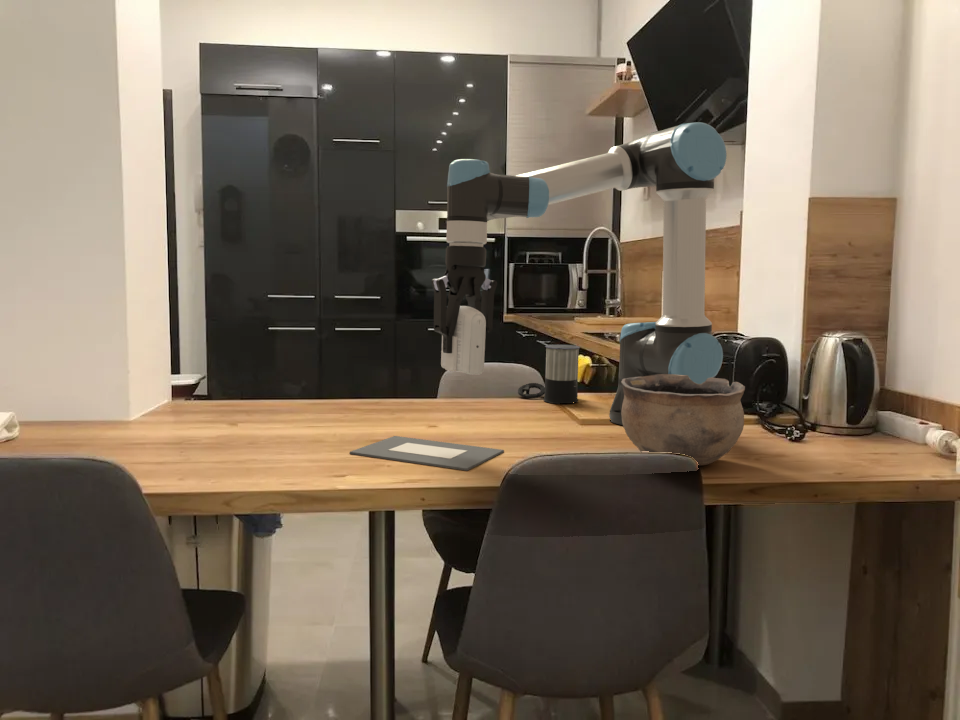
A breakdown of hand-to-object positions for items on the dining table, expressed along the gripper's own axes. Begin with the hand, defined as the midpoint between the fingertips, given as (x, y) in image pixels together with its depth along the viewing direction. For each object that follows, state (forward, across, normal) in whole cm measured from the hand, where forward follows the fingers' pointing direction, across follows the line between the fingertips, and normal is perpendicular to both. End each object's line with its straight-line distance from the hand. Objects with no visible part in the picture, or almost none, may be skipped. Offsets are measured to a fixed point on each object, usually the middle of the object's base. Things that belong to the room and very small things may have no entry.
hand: (462, 369), depth 148 cm
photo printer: (0, 0, 0) cm, 0 cm away
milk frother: (+15, -52, -37) cm, 66 cm away
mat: (+15, +7, 0) cm, 17 cm away
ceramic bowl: (+15, -29, +28) cm, 44 cm away
